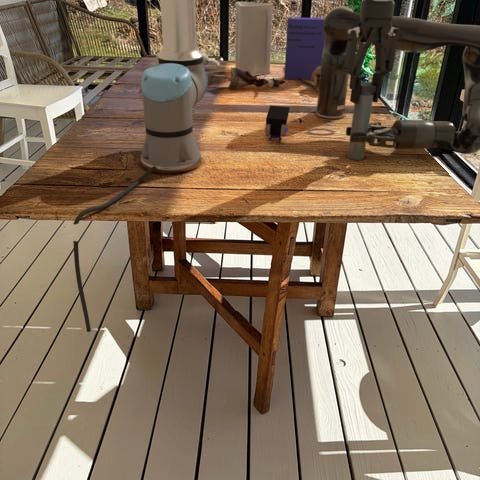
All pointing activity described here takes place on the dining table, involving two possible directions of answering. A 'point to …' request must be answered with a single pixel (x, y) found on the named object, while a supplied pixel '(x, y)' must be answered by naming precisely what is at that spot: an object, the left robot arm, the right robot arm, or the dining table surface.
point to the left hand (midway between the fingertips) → (363, 101)
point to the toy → (205, 60)
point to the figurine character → (276, 122)
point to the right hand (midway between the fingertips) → (348, 134)
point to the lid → (367, 87)
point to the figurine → (246, 79)
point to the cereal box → (303, 47)
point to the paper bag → (253, 37)
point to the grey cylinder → (360, 124)
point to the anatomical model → (316, 78)
